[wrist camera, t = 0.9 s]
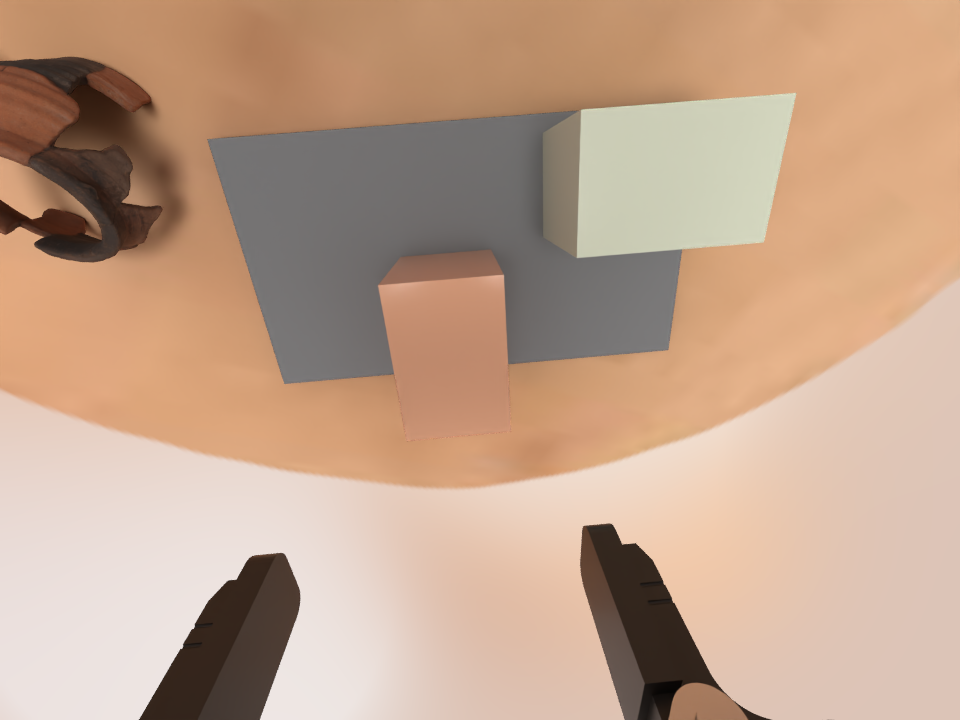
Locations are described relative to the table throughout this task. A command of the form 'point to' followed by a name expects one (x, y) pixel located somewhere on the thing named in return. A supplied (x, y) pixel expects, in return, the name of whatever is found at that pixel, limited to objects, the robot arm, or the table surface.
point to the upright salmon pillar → (448, 343)
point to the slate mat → (423, 241)
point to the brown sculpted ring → (70, 156)
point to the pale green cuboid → (663, 175)
